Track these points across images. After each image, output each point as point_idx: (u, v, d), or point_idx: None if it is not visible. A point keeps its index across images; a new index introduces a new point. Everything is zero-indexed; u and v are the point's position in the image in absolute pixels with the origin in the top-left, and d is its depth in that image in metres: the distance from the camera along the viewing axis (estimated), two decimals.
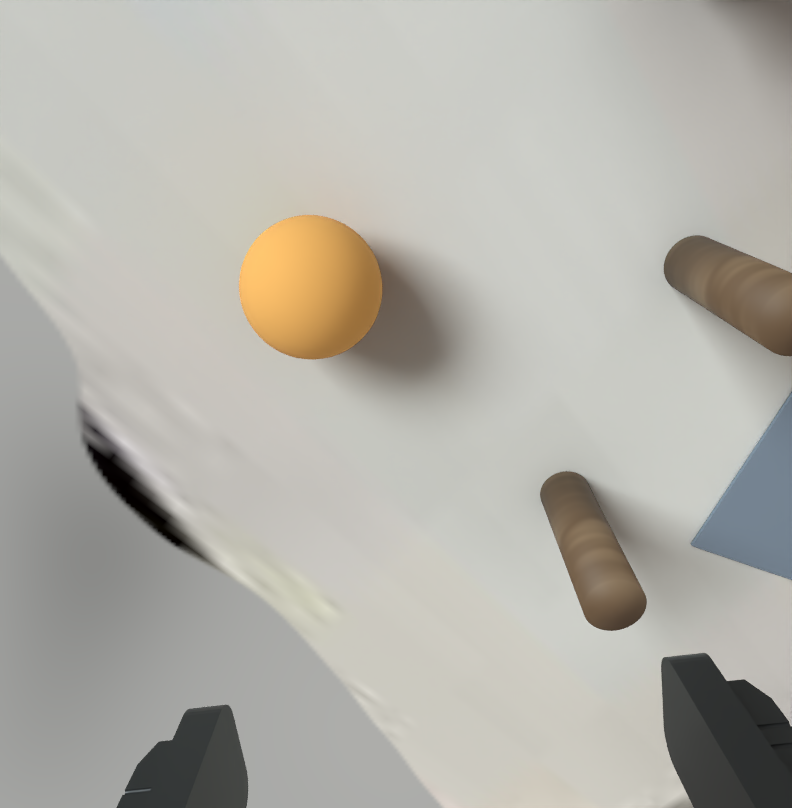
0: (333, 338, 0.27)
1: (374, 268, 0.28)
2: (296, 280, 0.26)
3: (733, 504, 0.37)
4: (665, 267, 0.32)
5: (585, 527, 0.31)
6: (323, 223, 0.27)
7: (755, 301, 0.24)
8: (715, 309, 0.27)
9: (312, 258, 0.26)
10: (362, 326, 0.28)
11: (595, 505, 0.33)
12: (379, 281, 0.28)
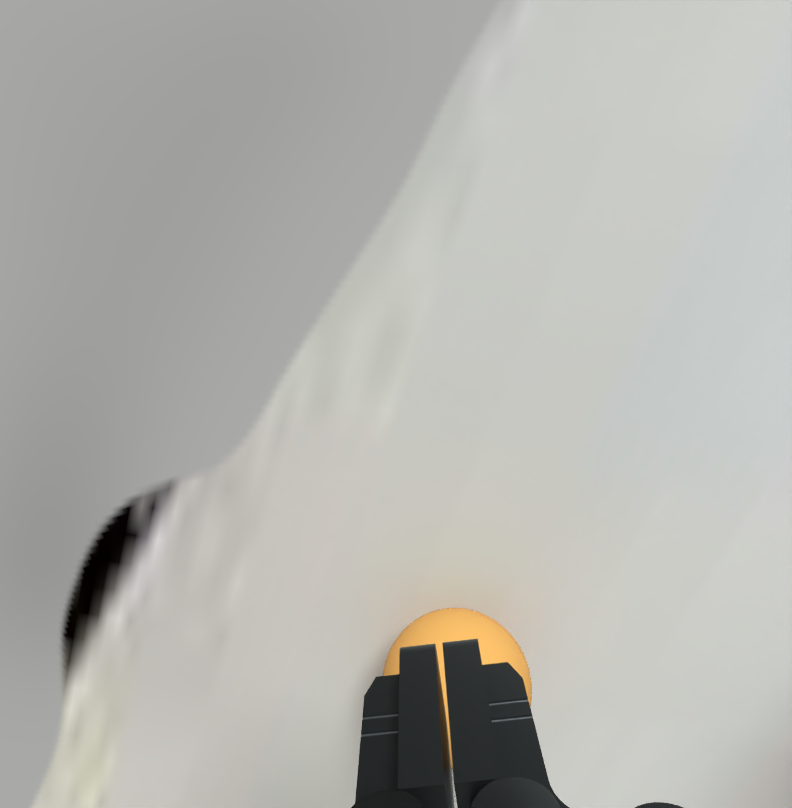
0: None
1: None
2: None
3: None
4: None
5: None
6: (529, 682, 0.27)
7: None
8: None
9: None
10: None
11: None
12: None
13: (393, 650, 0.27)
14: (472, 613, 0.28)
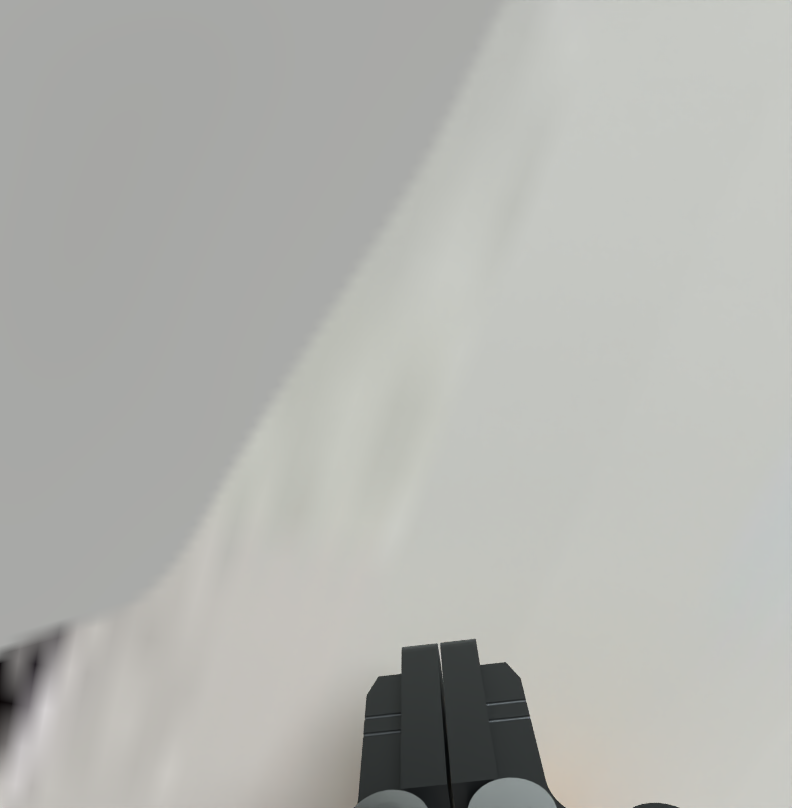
0: None
1: None
2: None
3: None
4: None
5: None
6: None
7: None
8: None
9: None
10: None
11: None
12: None
13: None
14: None
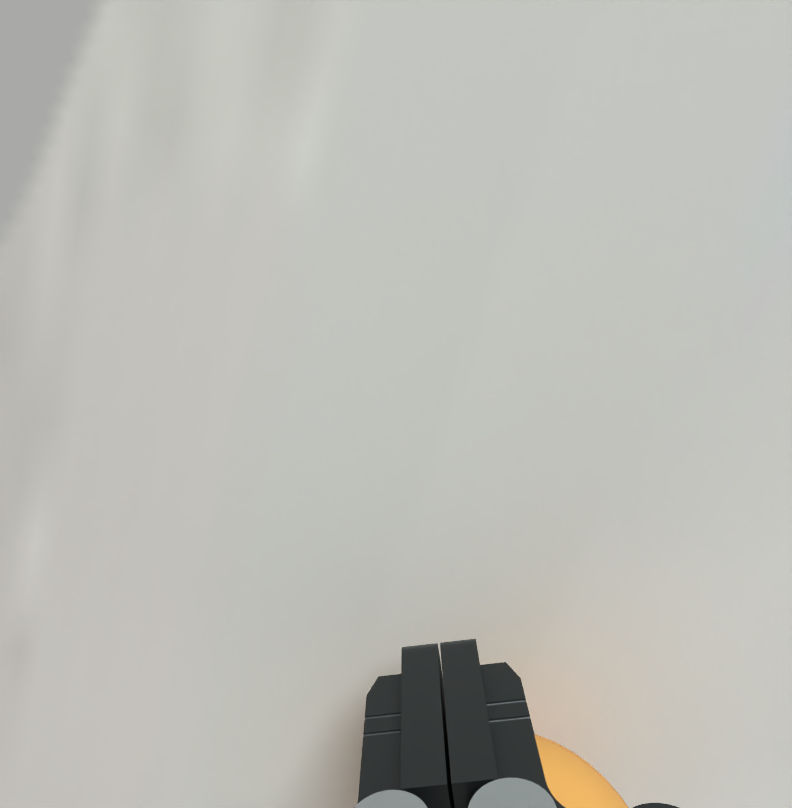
0: None
1: None
2: None
3: None
4: None
5: None
6: None
7: None
8: None
9: None
10: None
11: None
12: None
13: None
14: None
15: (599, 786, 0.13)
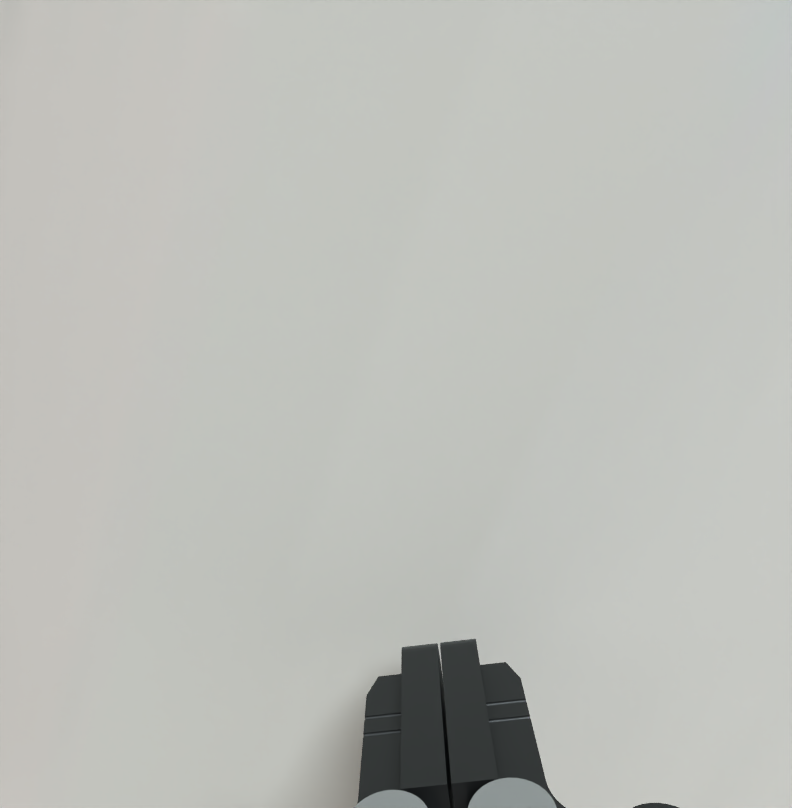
0: None
1: None
2: None
3: None
4: None
5: None
6: None
7: None
8: None
9: None
10: None
11: None
12: None
13: None
14: None
15: None
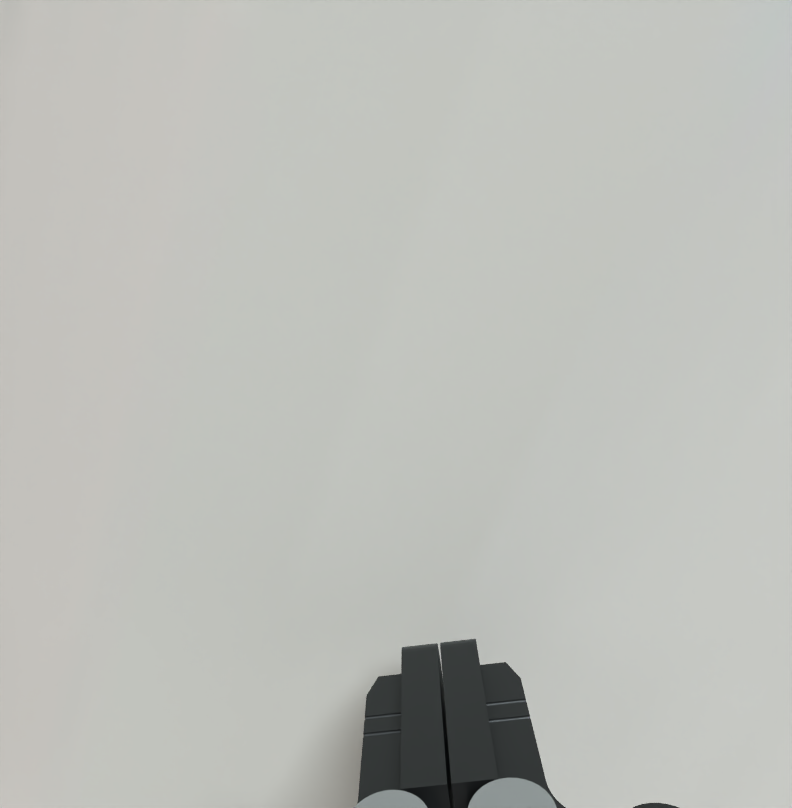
0: None
1: None
2: None
3: None
4: None
5: None
6: None
7: None
8: None
9: None
10: None
11: None
12: None
13: None
14: None
15: None
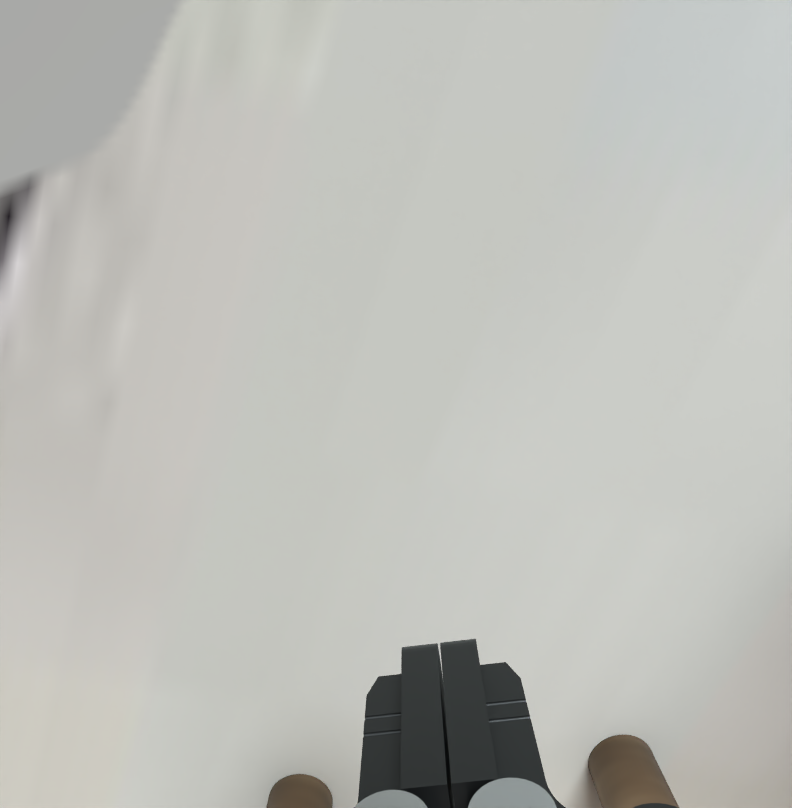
0: None
1: None
2: None
3: None
4: (605, 742, 0.27)
5: None
6: None
7: None
8: None
9: None
10: None
11: None
12: None
13: None
14: None
15: None
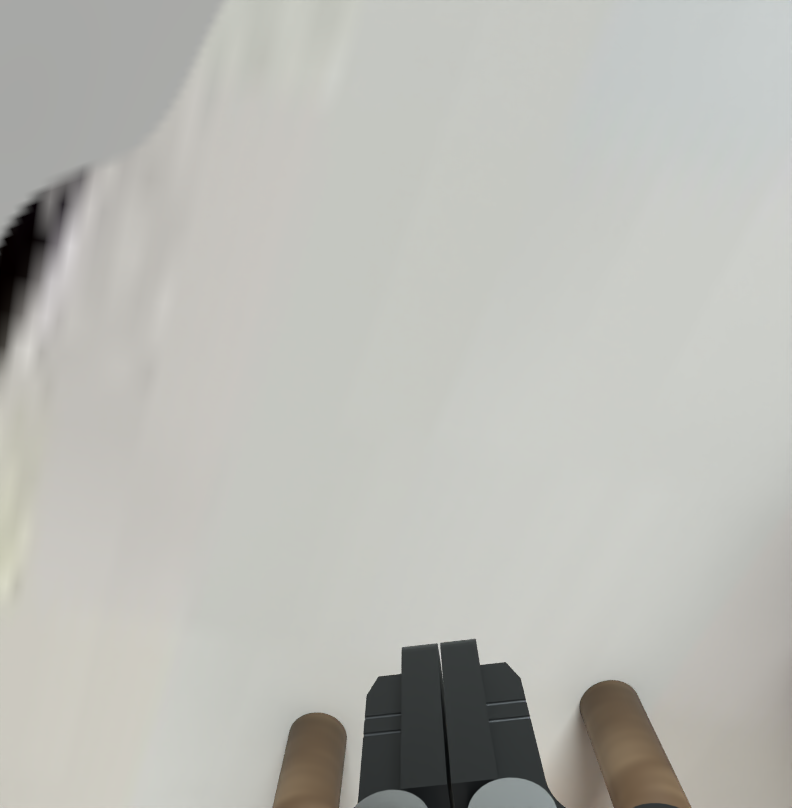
0: None
1: None
2: None
3: None
4: (595, 687, 0.30)
5: None
6: None
7: None
8: (622, 791, 0.25)
9: None
10: None
11: (340, 792, 0.28)
12: None
13: None
14: None
15: None
